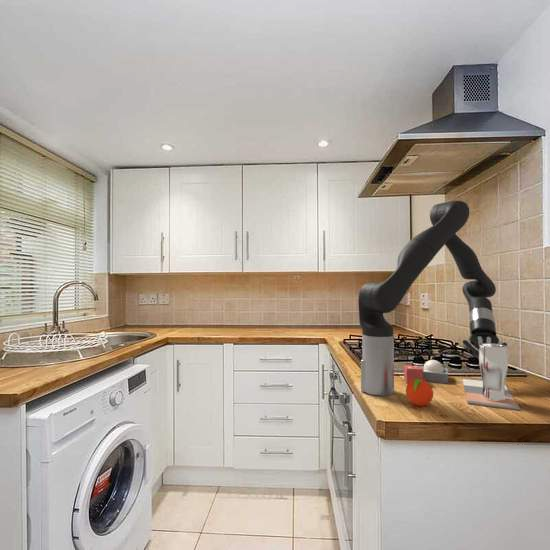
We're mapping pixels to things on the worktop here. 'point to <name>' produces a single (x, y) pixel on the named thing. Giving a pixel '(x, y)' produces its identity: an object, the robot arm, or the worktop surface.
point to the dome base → (436, 376)
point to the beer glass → (493, 371)
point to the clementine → (419, 392)
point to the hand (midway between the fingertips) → (486, 368)
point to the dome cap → (433, 366)
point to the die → (412, 373)
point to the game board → (474, 397)
